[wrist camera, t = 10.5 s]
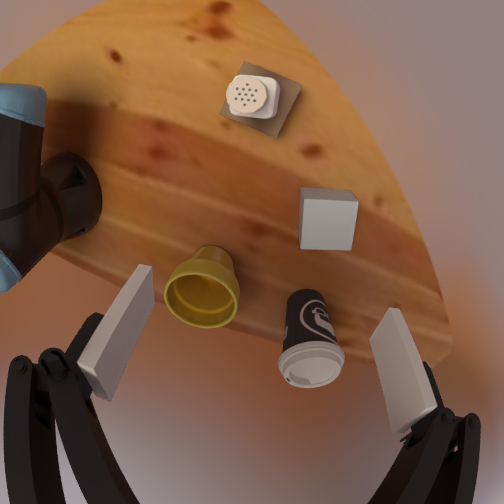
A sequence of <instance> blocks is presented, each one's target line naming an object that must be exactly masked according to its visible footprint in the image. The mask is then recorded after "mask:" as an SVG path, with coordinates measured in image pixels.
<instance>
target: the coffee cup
mask: <svg viewBox="0 0 504 504" xmlns="http://www.w3.org/2000/svg"><path fill="white" fill-rule="evenodd" d="M343 363H344V352H343V350H342V349H341V348H340V347H339V346H338V343H337V340H336V337H335V334H334V331H333V327H332V324H331V321H330V318H329V315H328V312H327V309H326V306H325V303H324V300H323V297H322V295H321V294H320V293H319V292H317V291H315V290H311V289H303V290H299V291H297V292H295V293H293V294H292V295H291V296H290V297H289V299H288V302H287V312H286V323H285V333H284V343H283V352H282V355H281V356H280V358H279V360H278V366H279V369H280V372H281V374H282V375H283V376H284V378H285V380H286V381H287V382H288V383H289V384H291V385H293V386H296V387H303V388H312V387H313V388H314V387H319V386H323V385H326V384H328V383H330V382H332V381H333V380H335V379H336V378H337V377H338V375H339V374H340V371H341V368H342V366H343Z"/></svg>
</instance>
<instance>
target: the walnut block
mask: <svg viewBox="0 0 504 504" xmlns="http://www.w3.org/2000/svg"><path fill="white" fill-rule="evenodd" d="M238 75H252V76H262V77H269V78H273V79H274V80H276V81H277V83H278V84H279V86H280V94H279V101H278V108H277V113H276V115H275V116H274V117H271V118H268V119H262V118H253V117H245V116H236V115H234V114H232V113H231V112H230V109H229V107H230V105H229V104H228V103H227V98H226V100H225V102H224V105H223V107H222V109H221V111H220V115H222V116H225V117H228V118H230V119H233V120H235V121H238V122H240V123H243V124H245V125H247V126H250V127H252V128H255V129H257V130H259V131H261V132H264V133H266V134H268V135H270V136H273V137H275V138H276V137H277V135H278V133H279V131H280V129H281V127H282V125H283V123H284V121H285V119H286V117H287V115H288V113H289V111H290V109H291V107H292V105H293V103H294V101H295V99H296V97H297V95H298V93H299V91H300V90H301V88H302V85H300V84H298V83H296V82H294V81H292V80H290V79H287V78H285V77H283V76H281V75H278V74H276V73H274V72H271V71H269V70H266V69H264V68H261V67H259V66H256V65H253V64H251V63H248V62H245V61H244V62H243V64H242V66H241V68H240V71H239V73H238ZM238 75H237V76H238Z"/></svg>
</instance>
